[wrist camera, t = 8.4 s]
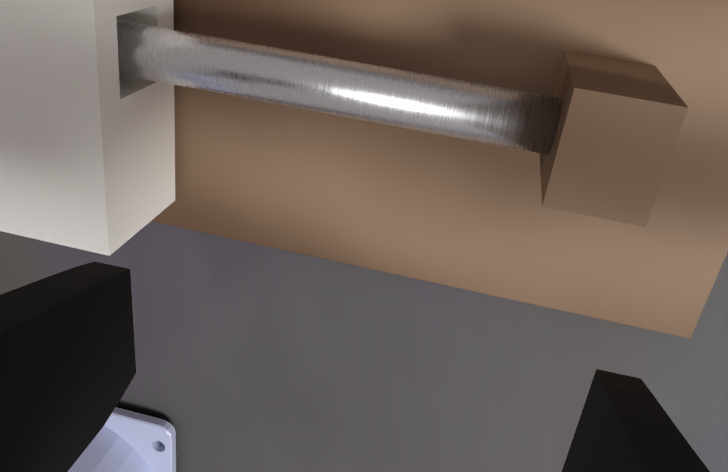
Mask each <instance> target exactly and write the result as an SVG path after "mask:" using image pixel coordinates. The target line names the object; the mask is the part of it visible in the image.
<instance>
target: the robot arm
mask: <svg viewBox="0 0 728 472" xmlns="http://www.w3.org/2000/svg"><path fill="white" fill-rule="evenodd" d="M135 373H136V364H135V347H134V330H133V313H132V296H131V279H130V269H126V268H122V267H117V266H112V265H108V264H103V263H99V262H92V263H88V264H85V265H81V266H78V267H75V268H72V269H69V270H66V271H63V272H60V273H58V274H55V275H52V276H49V277H47V278H44V279H41V280H39V281H36V282H33V283H31V284H28V285H26V286H23V287H20V288H18V289H15V290H12V291H10V292H7V293H4V294H2V295H0V472H176V433H175V429H174V427H173V426H172V424H171V423H169V422H168V421H166V420H163V419H160V418H156V417H152V416H148V415H144V414H141V413H137V412H133V411H129V410H125V409H121V408H117V407H116V406H117V404H118V403H119V401H120V399H121V398H122V396H123V394H124V392H125V391H126V389H127V387H128V385H129V384H130V382H131V380H132V379H133V377H134V375H135ZM161 442H162V443H161ZM562 472H710V471H709V470H708V469H707V468H706V466H705V465H704V464H703V462H702V461H701V460H700V458H699V457H698V456H697V454H696V453H695V452H694V450H693V449H692V448H691V446H690V445H689V444H688V442H687V441H686V440H685V438H684V437H683V435H682V434H681V433H680V431H679V430H678V429H677V427H676V426H675V425H674V423H673V422H672V420H671V419H670V418H669V416H668V415H667V414H666V412H665V411H664V409H663V408H662V407H661V405H660V404H659V403H658V401H657V400H656V398H655V397H654V396H653V394H652V393H651V392H650V390H649V389H648V388H647V386H646V385H645V384H644V382H643V381H642V380H641V379H640V378H635V377H630V376H626V375H621V374H616V373H612V372H607V371H602V370H598V369H596V372H595V375H594V378H593V381H592V384H591V387H590V390H589V393H588V396H587V399H586V402H585V405H584V408H583V411H582V414H581V417H580V420H579V423H578V426H577V429H576V431H575V434H574V437H573V440H572V443H571V446H570V449H569V452H568V455H567V458H566V461H565V464H564V467H563V470H562Z"/></svg>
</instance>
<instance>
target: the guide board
mask: <svg viewBox="0 0 728 472" xmlns="http://www.w3.org/2000/svg"><path fill="white" fill-rule="evenodd" d="M173 8H174V30H179V31H184V32H190V33H196V34H201V35H207V36H213V37H218V38H224V39H230V40H235V41H241V42H247V43H252V44H258V45H264V46H270V47H275V48H281V49H287V50H292V51H298V52H304V53H309V54H315V55H321V56H326V57H332V58H338V59H343V60H349V61H355V62H360V63H366V64H372V65H377V66H383V67H389V68H394V69H400V70H406V71H411V72H417V73H423V74H428V75H434V76H440V77H445V78H451V79H457V80H462V81H468V82H474V83H480V84H485V85H491V86H497V87H502V88H508V89H514V90H519V91H525V92H531V93H536V94H542V95H548V96H553V97H559V98H562V109H561V115H560V120H559V124H558V129H557V133H556V137H555V140H554V143H553V146H552V149H551V152H550V154H549V155H545V154H540V153H534V152H529V151H524V150H519V149H513V148H508V147H503V146H497V145H492V144H487V143H481V142H476V141H471V140H465V139H460V138H455V137H449V136H444V135H439V134H433V133H428V132H423V131H417V130H412V129H407V128H401V127H396V126H391V125H386V124H380V123H375V122H370V121H364V120H359V119H354V118H348V117H343V116H338V115H332V114H327V113H322V112H316V111H311V110H306V109H300V108H295V107H290V106H284V105H279V104H274V103H268V102H263V101H258V100H253V99H247V98H242V97H237V96H231V95H226V94H221V93H215V92H210V91H205V90H199V89H194V88H189V87H183V86H178V85H174V113H175V201H174V202H173V203H172V204H170V205H169V206H168V207H167V208H166V209H164V210H163V211H162V212H161V213H160V214H159V215H157V216H156V217H155V218H154V219H153V220H151V221H154V222H159V223H163V224H168V225H172V226H177V227H182V228H186V229H191V230H195V231H200V232H204V233H209V234H214V235H218V236H223V237H227V238H232V239H236V240H241V241H246V242H250V243H255V244H259V245H264V246H269V247H273V248H278V249H282V250H287V251H291V252H296V253H301V254H305V255H310V256H314V257H319V258H324V259H328V260H333V261H337V262H342V263H346V264H351V265H356V266H360V267H365V268H369V269H374V270H379V271H383V272H388V273H392V274H397V275H401V276H406V277H411V278H415V279H420V280H424V281H429V282H434V283H438V284H443V285H447V286H452V287H456V288H461V289H466V290H470V291H475V292H479V293H484V294H489V295H493V296H498V297H502V298H507V299H511V300H516V301H521V302H525V303H530V304H534V305H539V306H544V307H548V308H553V309H557V310H562V311H566V312H571V313H576V314H580V315H585V316H589V317H594V318H599V319H603V320H608V321H612V322H617V323H621V324H626V325H631V326H635V327H640V328H644V329H649V330H654V331H658V332H663V333H667V334H672V335H676V336H681V337H686V338H691V336H692V333H693V331H694V329H695V326H696V324H697V322H698V319H699V317H700V315H701V312H702V310H703V308H704V305H705V303H706V301H707V298H708V296H709V294H710V291H711V289H712V287H713V284H714V282H715V280H716V278H717V275H718V273H719V271H720V268H721V266H722V264H723V261H724V259H725V257H726V254H727V252H728V0H173Z"/></svg>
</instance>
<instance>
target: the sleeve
mask: <svg viewBox="0 0 728 472" xmlns="http://www.w3.org/2000/svg"><path fill="white" fill-rule="evenodd" d="M117 20H122V21H128V22H133V23H139V24H145V25H150V26H156V27H162V28H167V29H173V30H174V8H173V0H0V231H3V232H7V233H12V234H16V235H20V236H25V237H29V238H34V239H38V240H42V241H47V242H51V243H55V244H60V245H64V246H69V247H73V248H77V249H82V250H86V251H91V252H95V253H99V254H104V255H108V256H110V255H111V254H112V253H113V252H115V251H116V250H117V249H118V248H119V247H121V246H122V245H123V244H124V243H125V242H126V241H128V240H129V239H130V238H131V237H132V236H134V235H135V234H136V233H137V232H138V231H140V230H141V229H142V228H143V227H144V226H145V225H147V224H148V223H149V222H150V221H151V220H153V219H154V218H155V217H156V216H157V215H159V214H160V213H161V212H162V211H163V210H164V209H166V208H167V207H168V206H169V205H170V204H172V203H173V202H174V201H175V113H174V85H173V84H167V83H162V82H157V81H151V80H146V79H141V78H135V77H130V76H125V75H120V74H119V62H118V41H117Z"/></svg>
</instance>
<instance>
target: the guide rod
mask: <svg viewBox="0 0 728 472" xmlns="http://www.w3.org/2000/svg"><path fill="white" fill-rule="evenodd" d="M117 41H118V62H119V74H120V75H125V76H130V77H135V78H141V79H146V80H151V81H157V82H162V83H167V84H173V85H178V86H183V87H189V88H194V89H199V90H205V91H210V92H215V93H221V94H226V95H231V96H237V97H242V98H247V99H253V100H258V101H263V102H268V103H274V104H279V105H284V106H290V107H295V108H300V109H306V110H311V111H316V112H322V113H327V114H332V115H338V116H343V117H348V118H354V119H359V120H364V121H370V122H375V123H380V124H386V125H391V126H396V127H401V128H407V129H412V130H417V131H423V132H428V133H433V134H439V135H444V136H449V137H455V138H460V139H465V140H471V141H476V142H481V143H487V144H492V145H497V146H503V147H508V148H513V149H519V150H524V151H529V152H534V153H540V154H545V155H549V154H550V152H551V149H552V146H553V143H554V140H555V137H556V133H557V129H558V124H559V120H560V115H561V109H562V98H559V97H553V96H548V95H542V94H536V93H531V92H525V91H519V90H514V89H508V88H502V87H497V86H491V85H485V84H480V83H474V82H468V81H462V80H457V79H451V78H445V77H440V76H434V75H428V74H423V73H417V72H411V71H406V70H400V69H394V68H389V67H383V66H377V65H372V64H366V63H360V62H355V61H349V60H343V59H338V58H332V57H326V56H321V55H315V54H309V53H304V52H298V51H292V50H287V49H281V48H275V47H270V46H264V45H258V44H252V43H247V42H241V41H235V40H230V39H224V38H218V37H213V36H207V35H201V34H196V33H190V32H184V31H179V30H173V29H167V28H162V27H156V26H150V25H145V24H139V23H133V22H128V21H122V20H117Z"/></svg>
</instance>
